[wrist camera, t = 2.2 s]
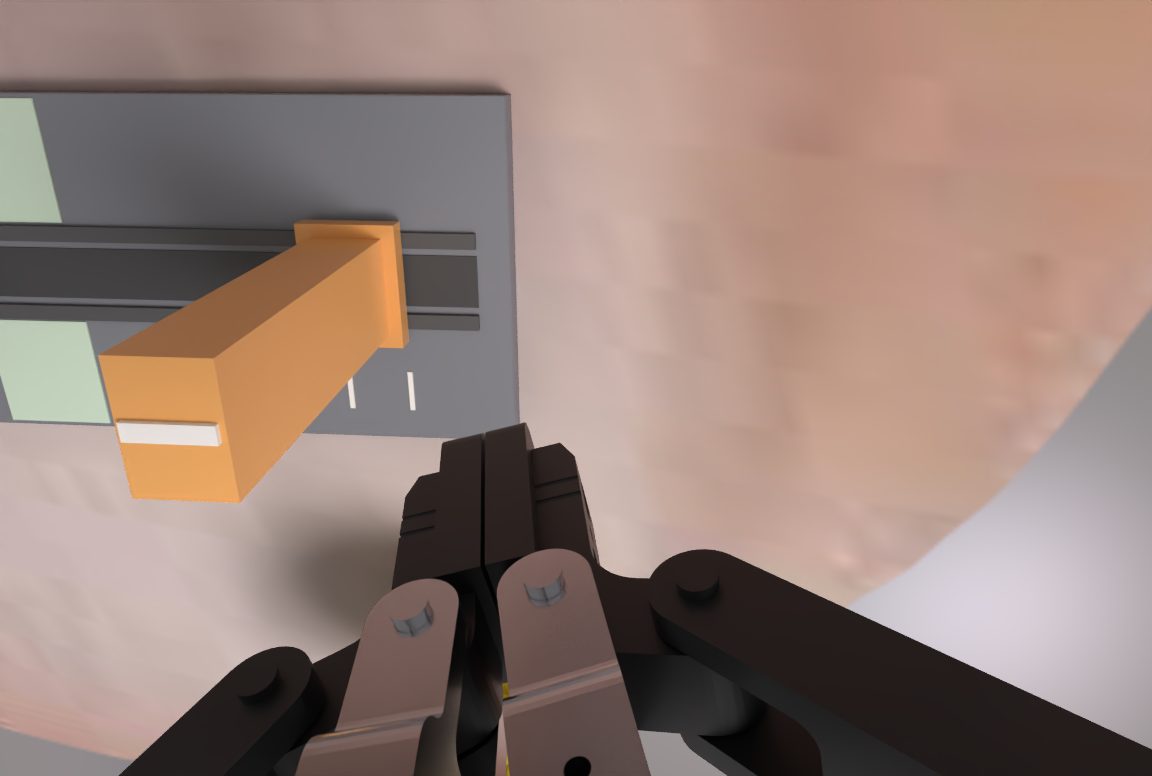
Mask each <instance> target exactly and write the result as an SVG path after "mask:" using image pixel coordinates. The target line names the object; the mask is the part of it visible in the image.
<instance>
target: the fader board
mask: <svg viewBox="0 0 1152 776" xmlns="http://www.w3.org/2000/svg"><path fill="white" fill-rule="evenodd" d="M301 220H360V221H400V233H401V245H402V258H403V270H404V282H405V294H406V307H407V319H408V331H409V342H408V343H407V345H406V346H405V347H404V348H378V349H377V350H376V351H375V352H374V353H373V354H372V356H371V357H370V358H369V359H368V360H367V361H366V362H365V363H364V365H363V366H362V367H361V368H360V369H359V370H358V371H357V372H356V373H355V375H354V376H353V377H352V378H351V379H350V380H349V381H348V382H347V384H346V385H345V386H344V387H343V388H342V389H341V390H340V391H339V393H338V394H337V395H336V396H335V397H334V398H333V399H332V400H331V401H330V403H329V404H328V405H327V406H326V407H325V408H324V409H323V410H322V412H321V413H320V414H319V415H318V416H317V417H316V418H315V419H314V420H313V422H312V423H311V424H310V425H309V426H308V427H307V428H306V429H305V431H304V432H303V433H316V434H344V435H372V436H399V437H427V438H455V439H459V438H464V437H468V436H472V435H476V434H480V433H484V435H485V433H486V432H488V431H492V430H496V429H500V428H504V427H509V426H513V425H517V424H520V417H519V380H518V344H517V307H516V271H515V234H514V198H513V161H512V125H511V94H348V93H179V92H9V91H0V422H10V423H38V424H66V425H94V426H115V424H114V420H113V416H112V412H111V407H110V403H109V399H108V395H107V391H106V387H105V382H104V378H103V374H102V370H101V366H100V362H99V357H98V355H99V354H101V353H103V352H105V351H106V350H108V349H110V348H112V347H114V346H115V345H117V344H119V343H121V342H123V341H124V340H126V339H128V338H130V337H132V336H133V335H135V334H137V333H139V332H141V331H142V330H144V329H146V328H148V327H150V326H151V325H153V324H155V323H157V322H159V321H160V320H162V319H164V318H166V317H168V316H169V315H171V314H173V313H175V312H177V311H178V310H180V309H182V308H184V307H185V306H187V305H189V304H191V303H193V302H194V301H196V300H198V299H200V298H202V297H203V296H205V295H207V294H209V293H211V292H212V291H214V290H216V289H218V288H220V287H221V286H223V285H225V284H227V283H229V282H230V281H232V280H234V279H236V278H238V277H239V276H241V275H243V274H245V273H247V272H248V271H250V270H252V269H254V268H256V267H257V266H259V265H261V264H263V263H265V262H266V261H268V260H270V259H272V258H274V257H275V256H277V255H279V254H281V253H283V252H284V251H286V250H288V249H290V248H292V247H293V246H295V245H296V238H295V231H294V223H296V222H298V221H301Z"/></svg>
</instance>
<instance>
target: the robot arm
mask: <svg viewBox="0 0 1152 776" xmlns="http://www.w3.org/2000/svg"><path fill="white" fill-rule="evenodd" d="M402 518H403V521H402V523H401V530H400V536H401V538H399V544H398V550H397V557H396V564H395V571H394V577H393V584H392V591H390V592H389V593H387V594H386V595H385V596H383V597H382V598H381V599H380V600H379V601H378V602H377V603H376V604H375V605H374V607H373V608H372V609H371V611H370V612H369V614H368V616H367V618H366V621H365V624H364V628H363V632H362V635H361V638H360V639H359V640H358V641H356V642H355V643H353V644H351V645H349V646H347V647H346V648H344V649H342V650H340V651H338V652H336V653H334V654H332V655H330V656H327V657H325V658H323V659H321V660H319V661H317V662H315V663H313V664H312V663H311V661H310V659H309V657H308V656H307V655H306V653H305V652H303V651H302V650H300V649H298V648H294V647H287V646H286V647H276V648H271V649H268V650H265V651H262V652H260V653H257V654H255V655H253V656H251V657H250V658H248V659H246V660H245V661H243V662H242V663H240V664H239V665H238V666H236V667H235V668H234V669H233V670H232V671H230V672H229V673H228V674H227V675H226V676H225V677H224V678H223V679H222V680H221V681H220V682H219V683H218V684H216V685H215V686H214V687H213V688H212V689H211V690H210V691H209V692H208V693H207V694H206V695H205V696H204V697H203V698H201V699H200V700H199V701H198V702H197V703H196V704H195V705H194V706H193V707H192V708H191V709H190V710H189V711H188V712H186V713H185V714H184V715H183V716H182V717H181V718H180V719H179V720H178V721H177V722H176V723H175V724H174V725H172V726H171V727H170V728H169V729H168V730H167V731H166V732H165V733H164V734H163V735H162V736H161V737H160V738H159V739H157V740H156V741H155V742H154V743H153V744H152V745H151V746H150V747H149V748H148V749H147V750H146V751H145V752H143V753H142V754H141V755H140V756H139V757H138V758H137V759H136V760H135V761H134V762H133V763H132V764H131V765H130V766H128V767H127V768H126V769H125V770H124V771H123V772H122V773H121V774H120V775H119V776H506V764H507V757H508V766H509V775H510V776H651V775H650V771H649V768H648V764H647V761H646V757H645V754H644V750H643V747H642V744H641V740H640V737H639V733H638V730H643V731H656V732H669V733H680V734H681V737H682V738H683V740H684V742H685V743H686V745H687V746H688V747H689V748H690V749H691V750H692V751H693V752H695V753H696V754H697V755H699V756H700V757H702V758H703V759H705V760H706V761H707V762H709V763H710V764H712V765H713V766H715V767H716V768H718V769H719V770H720V771H722V772H723V773H724V774H726V775H727V776H1152V749H1150V748H1148V747H1145V746H1143V745H1141V744H1139V743H1137V742H1135V741H1132V740H1130V739H1128V738H1125V737H1124V736H1121V735H1119V734H1117V733H1115V732H1113V731H1111V730H1109V729H1106V728H1104V727H1102V726H1100V725H1098V724H1096V723H1093V722H1091V721H1089V720H1087V719H1085V718H1083V717H1080V716H1078V715H1076V714H1074V713H1072V712H1070V711H1067V710H1065V709H1063V708H1061V707H1059V706H1056V705H1054V704H1052V703H1050V702H1048V701H1046V700H1044V699H1041V698H1039V697H1037V696H1035V695H1033V694H1031V693H1028V692H1026V691H1024V690H1022V689H1020V688H1017V687H1015V686H1013V685H1011V684H1009V683H1007V682H1005V681H1002V680H1000V679H998V678H996V677H994V676H991V675H989V674H987V673H985V672H983V671H981V670H979V669H976V668H974V667H972V666H970V665H968V664H966V663H963V662H961V661H959V660H957V659H955V658H952V657H950V656H948V655H946V654H944V653H941V652H939V651H937V650H935V649H933V648H931V647H929V646H927V645H924V644H922V643H920V642H918V641H915V640H913V639H911V638H909V637H907V636H905V635H903V634H901V633H898V632H896V631H894V630H892V629H890V628H888V627H885V626H883V625H881V624H879V623H877V622H875V621H872V620H870V619H868V618H866V617H864V616H861V615H859V614H857V613H855V612H853V611H851V610H849V609H846V608H844V607H842V606H840V605H838V604H836V603H833V602H831V601H829V600H827V599H825V598H823V597H820V596H818V595H816V594H814V593H812V592H810V591H807V590H805V589H803V588H801V587H799V586H797V585H794V584H792V583H790V582H788V581H786V580H784V579H781V578H779V577H777V576H775V575H773V574H771V573H768V572H766V571H764V570H762V569H760V568H758V567H755V566H753V565H751V564H749V563H747V562H745V561H742V560H740V559H738V558H736V557H734V556H732V555H729V554H727V553H724V552H721V551H716V550H707V549H701V550H691V551H687V552H683V553H680V554H677V555H675V556H673V557H671V558H669V559H667V560H666V561H664V562H663V563H662V564H660V565H659V566H658V567H657V568H656V570H655V571H654V572H653V574H652V575H651V577H650V579H649V578H628V577H623V576H619V575H616V574H613V573H611V572H609V571H607V570H605V569H604V568H603V567H601V566H600V562H599V556H598V551H597V546H596V540H595V535H594V529H593V524H592V520H591V516H590V512H589V509H588V505H587V501H586V497H585V494H584V490H583V486H582V482H581V479H580V475H579V471H578V467H577V464H576V460H575V456H574V455H573V454H572V453H570V452H569V451H568V450H567V449H566V448H565V447H564V446H563V445H562V444H561V443H557V444H553V445H549V446H544V447H540V448H536V449H534V445H533V442H532V439H531V435H530V432H529V429H528V426H527V424H526V423H521V424H517V425H513V426H509V427H504V428H500V429H496V430H492V431H488V432H486V433H485V435H484V433H480V434H476V435H472V436H468V437H464V438H459V439H455V440H451V441H447V442H443V444H442V449H441V460H440V471H439V472H437V473H433V474H429V475H424V476H420V477H419V478H418V480H417V481H416V482H415V484H414V485H413V487H412V488H411V490H410V491H409V493H408V494H407V495H406V497H405V503H404V510H403V516H402ZM504 683H508V689H509V697H507V698H504V699H503V684H504Z"/></svg>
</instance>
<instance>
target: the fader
mask: <svg viewBox="0 0 1152 776" xmlns="http://www.w3.org/2000/svg"><path fill="white" fill-rule="evenodd" d="M294 231H295V238H296V245H295V246H293V247H292V248H290V249H288V250H286V251H284V252H283V253H281V254H279V255H277V256H275V257H274V258H272V259H270V260H268V261H266V262H265V263H263V264H261V265H259V266H257V267H256V268H254V269H252V270H250V271H248V272H247V273H245V274H243V275H241V276H239V277H238V278H236V279H234V280H232V281H230V282H229V283H227V284H225V285H223V286H221V287H220V288H218V289H216V290H214V291H212V292H211V293H209V294H207V295H205V296H203V297H202V298H200V299H198V300H196V301H194V302H193V303H191V304H189V305H187V306H185V307H184V308H182V309H180V310H178V311H177V312H175V313H173V314H171V315H169V316H168V317H166V318H164V319H162V320H160V321H159V322H157V323H155V324H153V325H151V326H150V327H148V328H146V329H144V330H142V331H141V332H139V333H137V334H135V335H133V336H132V337H130V338H128V339H126V340H124V341H123V342H121V343H119V344H117V345H115V346H114V347H112V348H110V349H108V350H106V351H105V352H103V353H101V354H99V355H98V357H99V362H100V366H101V370H102V374H103V378H104V382H105V387H106V391H107V395H108V399H109V403H110V407H111V412H112V416H113V420H114V424H115V428H116V432H117V436H118V441H119V445H120V449H121V453H122V457H123V461H124V466H125V470H126V474H127V478H128V482H129V486H130V491H131V495H132V498H135V499H159V500H182V501H206V502H229V503H240V502H241V501H242V500H243V499H244V498H245V497H246V495H247V494H248V493H249V492H250V491H251V490H252V489H253V488H254V486H255V485H256V484H257V483H258V482H259V481H260V480H261V479H262V478H263V476H264V475H265V474H266V473H267V472H268V471H269V470H270V469H271V467H272V466H273V465H274V464H275V463H276V462H277V461H278V460H279V459H280V457H281V456H282V455H283V454H284V453H285V452H286V451H287V450H288V448H289V447H290V446H291V445H292V444H293V443H294V442H295V441H296V439H297V438H298V437H299V436H300V435H301V434H302V433H303V432H304V431H305V429H306V428H307V427H308V426H309V425H310V424H311V423H312V422H313V420H314V419H315V418H316V417H317V416H318V415H319V414H320V413H321V412H322V410H323V409H324V408H325V407H326V406H327V405H328V404H329V403H330V401H331V400H332V399H333V398H334V397H335V396H336V395H337V394H338V393H339V391H340V390H341V389H342V388H343V387H344V386H345V385H346V384H347V382H348V381H349V380H350V379H351V378H352V377H353V376H354V375H355V373H356V372H357V371H358V370H359V369H360V368H361V367H362V366H363V365H364V363H365V362H366V361H367V360H368V359H369V358H370V357H371V356H372V354H373V353H374V352H375V351H376V350H377V349H378V348H404V347H405V346H406V345H407V343H408V342H409V331H408V319H407V307H406V294H405V282H404V270H403V258H402V245H401V233H400V221H360V220H301V221H298V222H296V223H294Z"/></svg>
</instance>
